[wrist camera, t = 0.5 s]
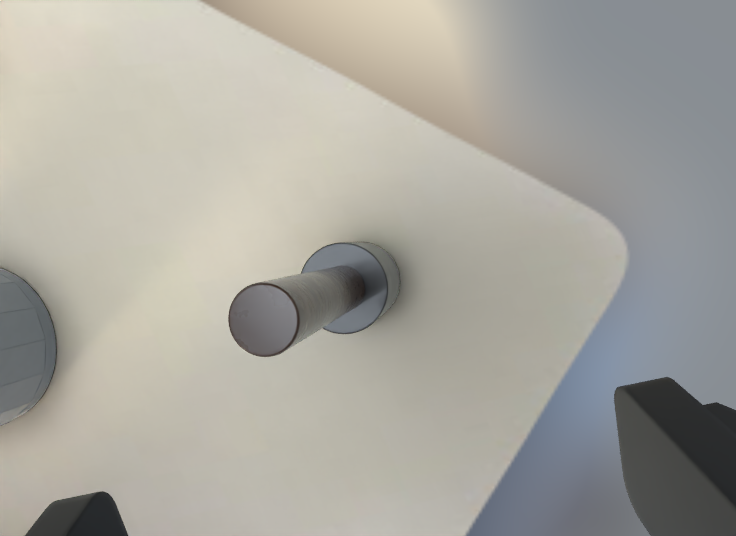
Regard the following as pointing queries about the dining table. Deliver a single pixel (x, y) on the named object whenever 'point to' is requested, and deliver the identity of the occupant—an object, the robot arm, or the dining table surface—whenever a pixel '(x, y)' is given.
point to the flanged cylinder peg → (316, 299)
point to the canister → (23, 347)
